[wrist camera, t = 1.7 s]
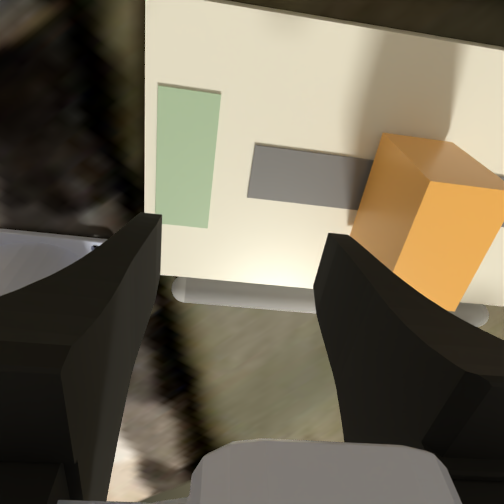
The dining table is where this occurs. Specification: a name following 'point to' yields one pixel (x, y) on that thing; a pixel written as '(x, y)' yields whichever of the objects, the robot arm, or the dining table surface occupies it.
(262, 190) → the breaker panel
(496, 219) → the block
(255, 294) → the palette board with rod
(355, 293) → the robot arm
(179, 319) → the dining table surface
